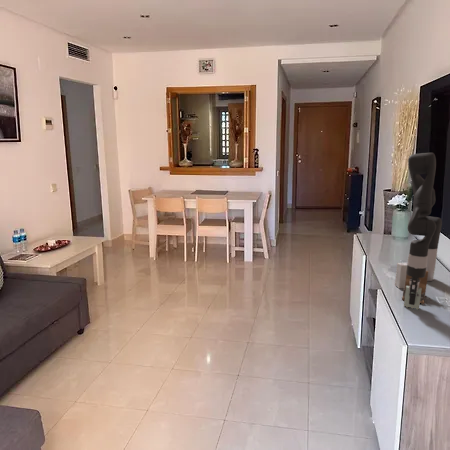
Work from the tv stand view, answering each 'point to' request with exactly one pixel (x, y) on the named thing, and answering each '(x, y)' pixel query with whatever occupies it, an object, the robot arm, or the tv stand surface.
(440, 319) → the tv stand surface
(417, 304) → the door
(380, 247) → the tv stand surface
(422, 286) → the cabinet
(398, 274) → the skincare box
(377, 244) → the tv stand surface
